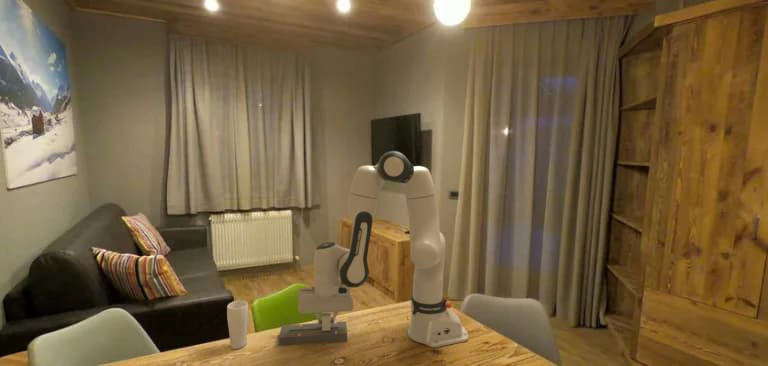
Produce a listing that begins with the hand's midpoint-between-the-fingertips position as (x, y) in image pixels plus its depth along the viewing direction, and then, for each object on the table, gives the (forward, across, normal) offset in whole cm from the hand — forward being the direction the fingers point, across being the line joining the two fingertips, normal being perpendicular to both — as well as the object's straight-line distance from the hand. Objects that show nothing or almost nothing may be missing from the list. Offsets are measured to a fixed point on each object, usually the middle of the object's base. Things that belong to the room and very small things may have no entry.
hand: (326, 322), depth 134 cm
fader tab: (+2, 0, 0) cm, 2 cm away
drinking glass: (+5, -30, -3) cm, 31 cm away
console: (+5, -4, 0) cm, 7 cm away
